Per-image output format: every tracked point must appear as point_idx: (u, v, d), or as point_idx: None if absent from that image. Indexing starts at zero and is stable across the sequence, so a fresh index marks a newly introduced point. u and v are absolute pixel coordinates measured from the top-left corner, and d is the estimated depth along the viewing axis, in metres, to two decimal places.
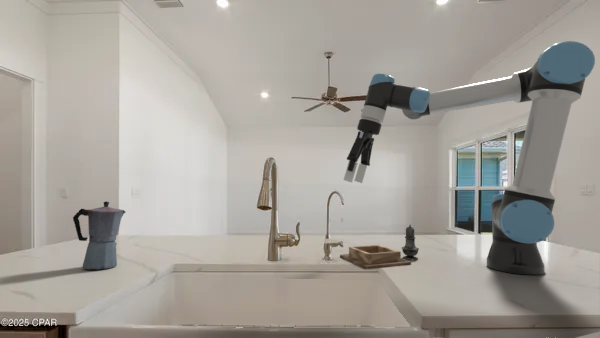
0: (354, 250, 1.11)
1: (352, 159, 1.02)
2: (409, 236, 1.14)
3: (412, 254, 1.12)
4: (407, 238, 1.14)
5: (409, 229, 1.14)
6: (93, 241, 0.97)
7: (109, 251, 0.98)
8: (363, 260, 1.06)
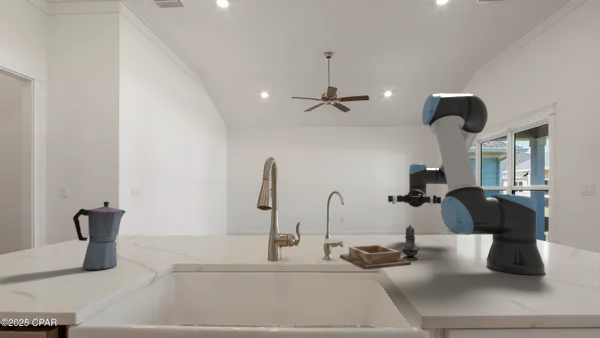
0: (354, 250, 1.11)
1: (390, 198, 1.34)
2: (409, 236, 1.14)
3: (412, 254, 1.12)
4: (407, 238, 1.14)
5: (409, 229, 1.14)
6: (93, 241, 0.97)
7: (109, 251, 0.98)
8: (363, 260, 1.06)
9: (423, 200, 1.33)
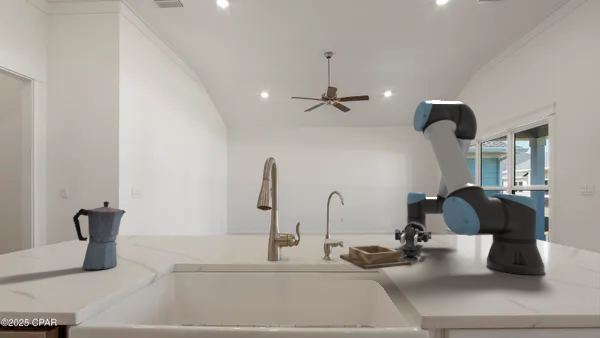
0: (354, 250, 1.11)
1: (397, 236, 1.18)
2: (409, 236, 1.14)
3: (412, 254, 1.12)
4: (407, 238, 1.14)
5: (409, 229, 1.14)
6: (93, 241, 0.97)
7: (109, 251, 0.98)
8: (363, 260, 1.06)
9: None
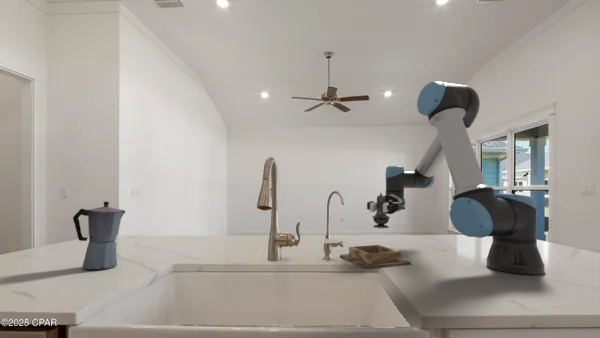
0: (354, 250, 1.11)
1: (369, 205, 1.18)
2: (379, 204, 1.13)
3: (382, 222, 1.12)
4: (378, 206, 1.13)
5: (380, 197, 1.13)
6: (93, 241, 0.97)
7: (109, 251, 0.98)
8: (363, 260, 1.06)
9: None
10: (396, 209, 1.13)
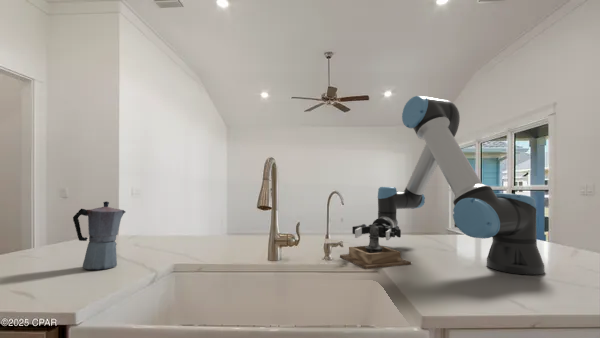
0: (354, 250, 1.11)
1: (354, 230, 1.17)
2: (373, 235, 1.10)
3: None
4: (371, 237, 1.11)
5: (373, 228, 1.10)
6: (93, 241, 0.97)
7: (109, 251, 0.98)
8: (363, 260, 1.06)
9: (385, 231, 1.17)
10: (399, 235, 1.11)
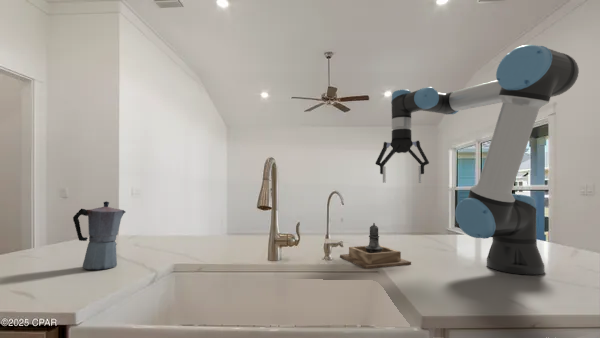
0: (354, 250, 1.11)
1: None
2: (372, 235, 1.10)
3: None
4: (371, 237, 1.11)
5: (373, 228, 1.10)
6: (93, 241, 0.97)
7: (109, 251, 0.98)
8: (363, 260, 1.06)
9: None
10: (428, 163, 1.26)
